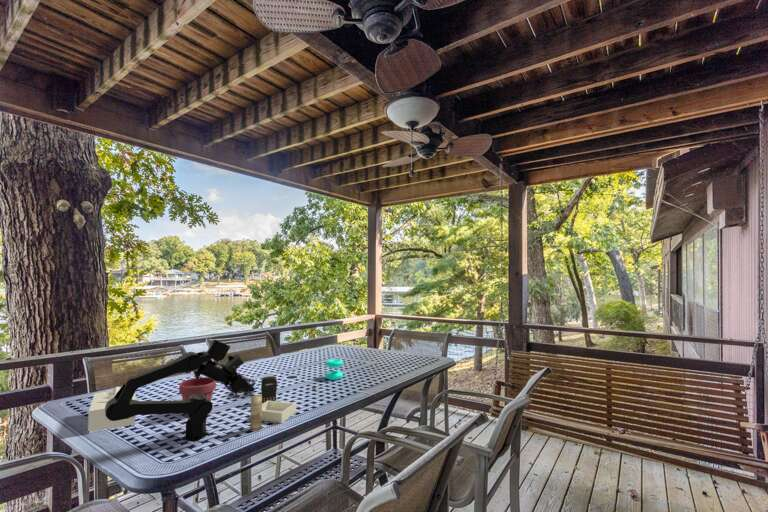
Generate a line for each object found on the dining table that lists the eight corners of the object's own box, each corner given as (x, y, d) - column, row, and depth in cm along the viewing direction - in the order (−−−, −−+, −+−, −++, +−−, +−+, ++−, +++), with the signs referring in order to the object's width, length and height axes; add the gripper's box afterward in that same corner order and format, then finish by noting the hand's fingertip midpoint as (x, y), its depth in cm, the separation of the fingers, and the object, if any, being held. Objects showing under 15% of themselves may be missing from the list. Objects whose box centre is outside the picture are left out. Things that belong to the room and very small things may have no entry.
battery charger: (261, 404, 169) (261, 378, 169) (260, 401, 172) (261, 376, 173) (277, 402, 172) (277, 377, 172) (276, 399, 175) (276, 375, 176)
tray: (281, 423, 147) (281, 412, 147) (251, 419, 151) (251, 409, 151) (295, 412, 158) (296, 403, 158) (267, 409, 162) (267, 400, 162)
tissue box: (87, 434, 137) (88, 404, 137) (93, 414, 158) (94, 387, 158) (134, 426, 145) (135, 397, 146) (134, 407, 166) (135, 382, 166)
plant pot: (200, 419, 151) (201, 387, 152) (170, 416, 154) (171, 385, 155) (222, 406, 165) (222, 377, 166) (194, 404, 168) (194, 376, 169)
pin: (257, 431, 139) (258, 398, 140) (248, 430, 140) (248, 398, 141) (263, 427, 143) (264, 395, 144) (254, 426, 144) (255, 394, 145)
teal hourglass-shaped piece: (343, 362, 208) (325, 362, 207) (343, 380, 207) (325, 380, 206) (343, 358, 218) (326, 358, 217) (343, 375, 217) (326, 376, 216)
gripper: (234, 356, 135) (269, 372, 143) (221, 347, 150) (254, 363, 158) (216, 385, 131) (254, 401, 139) (205, 373, 146) (239, 388, 154)
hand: (250, 387), depth 147 cm, fingers open, 9 cm apart
